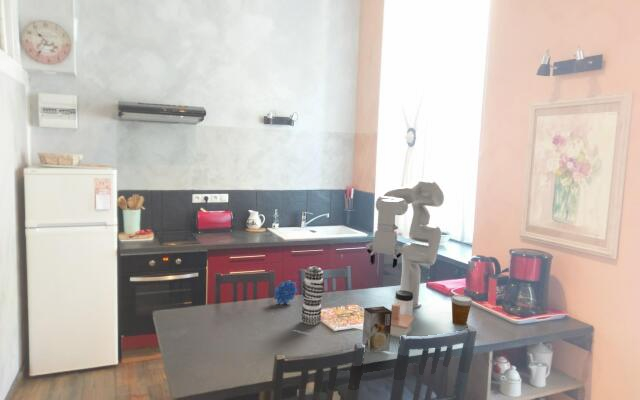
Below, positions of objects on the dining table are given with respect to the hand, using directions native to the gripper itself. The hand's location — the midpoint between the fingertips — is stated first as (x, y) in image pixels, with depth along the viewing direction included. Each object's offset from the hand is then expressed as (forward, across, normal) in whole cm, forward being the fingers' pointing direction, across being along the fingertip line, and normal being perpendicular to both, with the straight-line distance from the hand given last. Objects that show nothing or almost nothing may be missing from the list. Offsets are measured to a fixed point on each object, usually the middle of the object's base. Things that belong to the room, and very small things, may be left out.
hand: (383, 265), depth 210 cm
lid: (+22, -8, +6) cm, 24 cm away
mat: (+27, +8, +6) cm, 28 cm away
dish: (+27, -8, +6) cm, 29 cm away
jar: (+28, -8, -13) cm, 31 cm away
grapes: (+27, +48, -2) cm, 56 cm away
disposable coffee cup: (+28, -33, -20) cm, 47 cm away
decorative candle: (+27, +27, +15) cm, 41 cm away
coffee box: (+27, -5, +27) cm, 38 cm away
